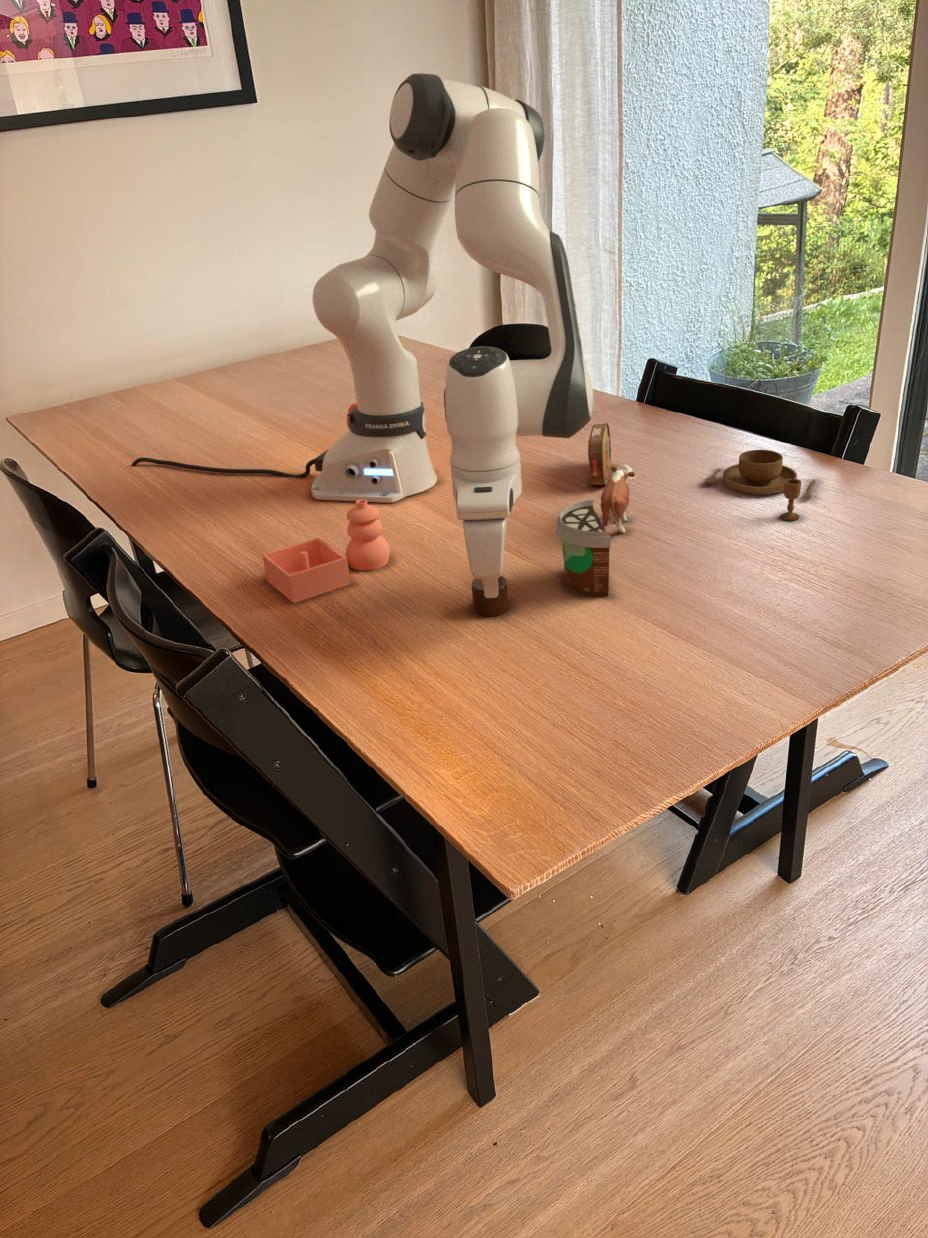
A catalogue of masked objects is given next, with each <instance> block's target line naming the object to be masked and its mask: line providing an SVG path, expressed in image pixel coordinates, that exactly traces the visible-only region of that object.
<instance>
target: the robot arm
mask: <svg viewBox="0 0 928 1238" xmlns="http://www.w3.org/2000/svg"><path fill="white" fill-rule="evenodd" d="M388 123H389V124H388V126H389V134H390V137H391V139H392V142H393V144H392V148H391V150H390V152H389V154H388V157H387V160H386V162H385V165H384V167H383V170H382V172H381V176H380V179H379V181H378V184H377V186H376V189H375V192H374V195H373V198H372V201H371V204H370V207H369V210H368V217H369V222H370V224H371V226H372V228H373V229H374V231H375V236H374V242H373V246H372V248H371V250H370V251H369V252H368V253H367V254H366V255H365V256H363V257H360V258H356V259H354V260H350V261H346V262H344V263H340V264H338V265H337V266H335V267H333V268H332V269H330V270H329V271H327V272H326V273H324V274H323V275H322V276H320V277H319V279H318V280H317V281H316V283H315V284H314V286H313V290H312V298H311V299H312V300H311V301H312V307H313V310H314V313H315V316H316V318H317V320H318V321H319V323H320V325H322V327H323V328H324V329H325V330H327V331H328V332H329V333H331V334H332V335H334V336H335V337H336V339H338V341H339V343H340V344H341V346H342V348H343V350H344V352H345V354H346V357H347V359H348V362H349V365H350V369H351V374H352V375H351V376H352V380H353V387H354V392H355V400H356V402H355V403H352V404H350V406H349V408H348V409H347V414H346V426H347V427H348V431H345V433H344V434H343V435H341V437H339V439H337V440H336V441H335V442H334V443H333V444H332V445H331V446H330V447H329V448H327V449H326V450H324V451H323V452H321V454H319V455H318V456H317V457H315V458H313V459H311V460H309V461H308V462H307V463H306V464H305V470H304V471H305V472H303V473H300V474H291V473H286V472H283V471H280V470H275V469H267V468H225V467H224V468H222V467H212V466H203V465H195V464H189V463H188V464H187V463H184V462H183V463H182V462H177V461H172V460H165V459H156V458H151V457H146V456H145V457H138V458H136V459H135V460H134V461H133V462H132V463H131V467H137V465H138V464H140V463H151V464H154V465H163V466H171V467H176V468H181V469H186V470H192V471H202V472H209V473H219V474H233V475H235V474H237V475H238V474H240V475H242V474H244V475H245V474H246V475H254V474H255V475H272V476H277V477H282V478H295V479H305V478H307V477H308V476H310V474H311V467H312V466H313V465H314V469H315V472H320V474H318V475H317V476H316V477H315V478H314V480H313V482H312V484H311V487H310V490H311V491H310V492H311V496H312V498H313V499H315V500H319V501H338V502H339V501H341V502H342V501H343V502H356V501H357V500H361V499H364V500H367V503H383V504H384V503H385V504H390V503H396V502H398V501H400V500H402V499H405V498H406V497H409V496H414V495H417V494H420V493H422V492H425V491H427V490H429V489H430V488H432V487H434V486H435V484H437V481H438V476H437V474H436V472H435V469H434V467H433V463H432V459H431V456H430V452H429V447H428V443H427V437H426V436H427V431H428V429H427V428H428V427H427V419H426V418H427V417H426V410H425V406H424V405H425V404H424V402H423V401H422V398H421V389H420V388H421V387H420V379H419V378H420V377H419V370H418V369H419V366H418V361H417V358H416V356H415V355H414V353H412V352H411V351H410V350H408V349H407V348H404V346H403V344H402V343H401V340H400V337H399V335H398V332H397V329H396V322H397V321H399V320H401V319H405V318H406V317H410V316H411V315H414V314H415V313H417V312H418V311H420V310H421V309H422V308H423V307H424V306H426V305H427V304H428V303H429V302H430V301H431V300H432V299H433V297H434V295H435V293H436V289H437V285H438V284H437V273H436V270H435V267H434V265H433V262H432V261H433V255H434V254H433V253H434V249H435V243H436V241H437V237H438V235H439V232H440V230H441V227H442V225H443V222H444V220H445V217H446V214H447V213H448V210H449V208H450V205H451V203H452V200H453V198H454V220H455V221H454V222H455V231H456V236H457V237H456V238H457V240H458V242H459V244H460V245H461V247H462V249H463V251H465V253H466V255H468V257H470V258H471V259H472V260H473V261H475V262H476V263H477V264H478V265H481V266H482V267H483V268H486V269H488V270H490V271H492V272H495V273H497V274H500V275H502V276H506V277H509V278H512V279H515V280H518V281H520V282H522V283H524V284H526V285H528V286H530V287H532V288H533V289H535V290H536V291H537V292H538V293H539V294H540V295H541V297H542V299H543V305H544V310H545V317H546V323H547V324H546V325H547V329H548V335H549V341H550V349H551V353H550V354H549V356H547V357H545V358H541V359H516V360H514V359H513V360H510V358H509V356H508V353H507V352H505V351H504V350H502V349H501V348H498V347H495V346H488V345H487V346H486V345H484V346H483V345H480V346H479V345H478V346H473V347H468V348H466V349H462V350H459V351H458V352H456V353H455V354H453V355H452V356H451V357H450V359H448V361H447V366H446V374H445V387H444V390H443V391H444V392H443V406H444V418H445V423H446V430H447V433H448V435H449V438H450V442H451V451H450V456H449V465H450V475H451V488H452V497H453V499H454V501H455V508H456V517H457V520H460V521H462V527H463V535H464V542H465V547H466V552H467V559H468V565H469V570H470V572H471V574H472V577H473V578H474V579H482V582H483V586H484V595H485V597H486V598H496V597H498V594H499V586H498V578H500V577H501V576H502V574H503V569H504V568H503V567H504V558H505V557H504V556H505V547H506V546H505V544H506V539H507V529H508V528H507V527H508V519H509V518H510V517H511V513H512V510H513V506H514V505H515V503H516V501H517V499H518V498H519V497H520V496H521V495H522V493H523V483H522V479H523V478H522V463H521V452H520V449H519V446H518V441H517V437H527V436H528V437H529V436H531V437H532V436H534V437H536V436H537V437H538V436H543V437H545V438H558V439H571V438H572V437H573V436H575V435H576V434H577V433H579V432H580V431H581V430H582V429H584V428H585V426H586V425H588V423H590V421H591V420H592V415H593V412H594V407H595V395H594V388H593V383H592V378H591V375H590V373H589V369H588V367H587V364H586V361H585V357H584V349H583V346H582V345H583V344H582V337H581V331H580V326H579V325H580V324H579V319H578V312H577V307H576V300H575V295H574V294H575V293H574V289H573V282H572V277H571V272H570V271H571V270H570V266H569V261H568V256H567V252H566V248H565V245H564V243H563V241H562V239H561V237H560V235H559V234H558V233H556V232H553V231H552V230H549V228H548V226H547V225H546V223H545V221H544V218H543V216H542V213H541V207H540V170H539V162H540V160H541V157H542V154H543V150H544V146H545V138H546V137H545V136H546V135H545V134H546V133H545V126H544V122H543V118H542V116H541V114H540V113H539V112H538V111H537V110H536V109H535V108H533V106H531V105H529V104H527V103H526V102H524V101H522V100H520V99H512V98H511V97H508V96H506V95H504V94H503V93H500V92H499V91H495V90H493V89H491V88H488V87H485V86H482V85H474V84H471V83H467V82H463V81H457V80H453V79H447V78H441V77H440V76H439V75H438V74H432V73H423V72H422V73H420V72H419V73H412V74H409V76H407V77H406V78H405V79H404V80H403V81H402V82H401V83H400V84H399V86H398V88H397V89H396V91H395V93H394V97H393V99H392V103H391V107H390V113H389V122H388Z"/></svg>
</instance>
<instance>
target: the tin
mask: <svg viewBox="0 0 928 1238" xmlns="http://www.w3.org/2000/svg"><path fill="white" fill-rule="evenodd" d="M611 444H612V443H611V431H610V426H609V423H608V422H606V423H605V422H604V423H595V424H593V425H592V427H591V431H590V434H589V438H588V443H587V458H588V463H589V473H590V474H589V475H590V476H589V481H590V484H591V485H592V486H606V484H607V482H608V481H609V479H610V478H609V477H610V473H611V468H612V446H611Z"/></svg>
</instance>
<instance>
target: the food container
mask: <svg viewBox="0 0 928 1238" xmlns="http://www.w3.org/2000/svg"><path fill="white" fill-rule="evenodd" d="M602 524H603V522H602V521H601V518H600V517H599V515H598V514H597V512H596V511H595V509H594V499H587V500H582V501H578V502H575V503H572V504H570V505H567V506H566V507H565V508H564V509H562V511H561V512H560V513H559V516H558V518H557V523H556V526H555V527H556V528H555V533H556V535H557V537H559V539H561V548H562V557H563V559H562V560H563V566H564V567H563V569H564V575H565V576H564V578H565V584H566V586H567V588H568V589H569V590H571V591H572V592H574V593H577V594H580V595H583V596H589V597H609V593H610V592H609V591H610V590H609V589H610V588H609V587H610V586H609V585H610V548H611V547H612V546H611V533H610V530H609V531H607V530H606V532H605V530H604V528H603V525H602Z"/></svg>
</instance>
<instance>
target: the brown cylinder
mask: <svg viewBox="0 0 928 1238" xmlns="http://www.w3.org/2000/svg"><path fill="white" fill-rule="evenodd" d="M498 586H499V594H498V597H496V598H486V597H485V595H484V586H483V582H482V579H475V578H474V579H472V580H471V595H472V608H473V609H472V610H473V612H474V613H475V614H476V615H477V616H480V617H483V618H484V617H486V618H493V617H499V616H502V615H504V614H506V613H507V612H508V611H509V609H510V603H509V585H508V580H507V578H506V577H504V576H502V575H501V577H500V578H498Z"/></svg>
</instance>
